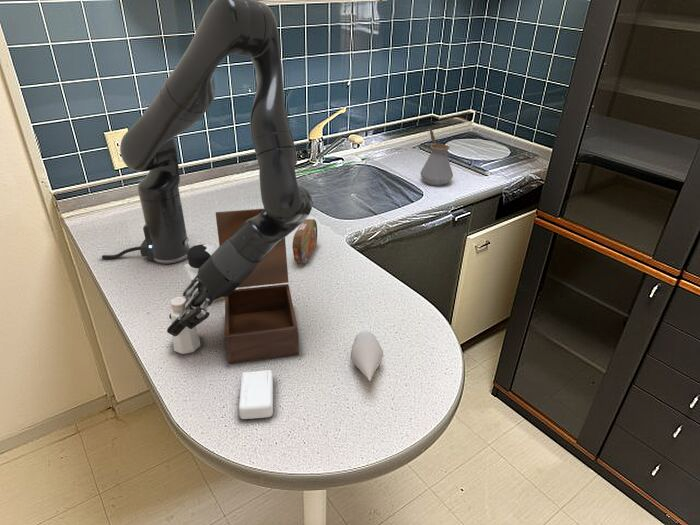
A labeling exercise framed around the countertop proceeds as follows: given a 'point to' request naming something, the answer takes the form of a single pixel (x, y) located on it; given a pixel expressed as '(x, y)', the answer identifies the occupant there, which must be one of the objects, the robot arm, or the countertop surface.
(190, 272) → the medicine bottle
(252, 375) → the soap
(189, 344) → the pepper shaker
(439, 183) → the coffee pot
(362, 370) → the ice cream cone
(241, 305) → the box
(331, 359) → the countertop surface
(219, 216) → the lid
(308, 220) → the tin
